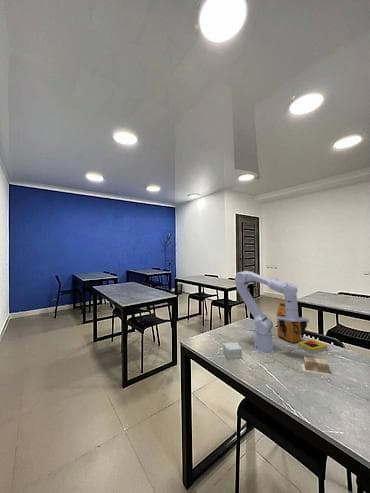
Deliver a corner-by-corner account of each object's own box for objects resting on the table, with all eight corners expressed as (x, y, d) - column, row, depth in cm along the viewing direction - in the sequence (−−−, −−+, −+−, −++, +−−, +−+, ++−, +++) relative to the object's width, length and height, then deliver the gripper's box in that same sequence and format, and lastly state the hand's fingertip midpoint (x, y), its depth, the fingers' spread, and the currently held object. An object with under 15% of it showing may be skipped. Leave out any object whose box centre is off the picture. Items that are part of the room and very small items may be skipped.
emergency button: (294, 340, 116) (315, 336, 121) (295, 348, 116) (315, 344, 121) (309, 348, 108) (331, 342, 112) (309, 356, 108) (331, 351, 112)
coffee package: (290, 344, 120) (289, 305, 121) (275, 336, 132) (273, 300, 132) (304, 341, 123) (302, 303, 124) (288, 333, 135) (286, 299, 135)
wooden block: (305, 360, 95) (329, 364, 91) (303, 356, 98) (326, 359, 95) (305, 369, 95) (329, 373, 91) (304, 365, 98) (327, 368, 95)
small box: (237, 351, 115) (237, 341, 115) (242, 358, 107) (242, 348, 107) (223, 352, 114) (223, 342, 115) (227, 360, 107) (227, 349, 107)
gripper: (276, 310, 106) (278, 337, 106) (309, 311, 101) (311, 340, 101) (275, 306, 113) (277, 332, 113) (306, 307, 108) (309, 335, 107)
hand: (293, 336), depth 107 cm, fingers open, 7 cm apart
